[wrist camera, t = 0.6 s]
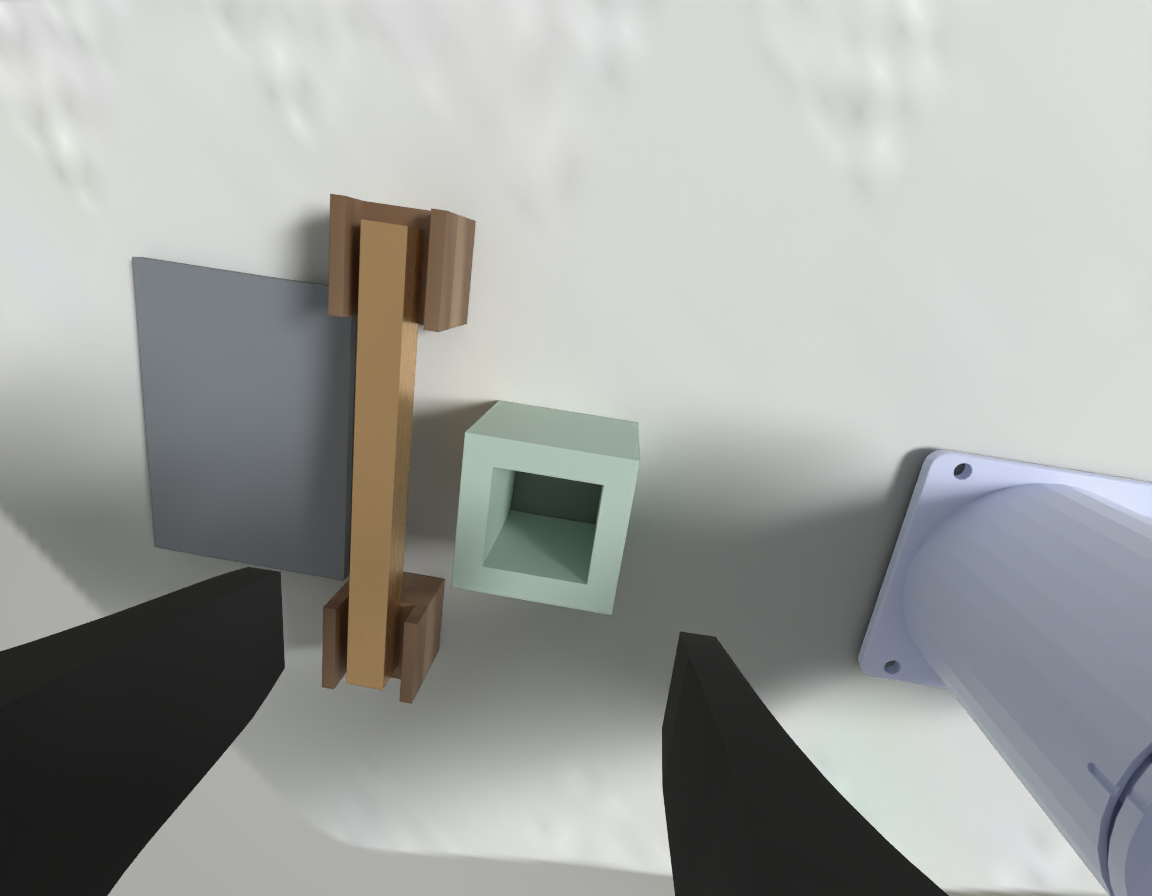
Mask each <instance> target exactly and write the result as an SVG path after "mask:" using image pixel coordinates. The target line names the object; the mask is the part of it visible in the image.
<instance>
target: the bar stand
mask: <svg viewBox="0 0 1152 896" xmlns="http://www.w3.org/2000/svg"><path fill="white" fill-rule="evenodd" d="M361 219H362V220H369V221H376V222H382V223H389V224H396V225H403V226H409V227H413V228H418V229H422V230H424V239H423V255H422V271H421V287H420V304H419V320H418V324H422V325H424V330H429V331H435V332H440V331H443V330H447V329H450V328H454V327H457V326H461V325H464V324H467V314H468V303H469V291H470V280H471V268H472V256H473V245H474V233H475V221H474V220H471V219H468V218H465V217H462V216H460V215H457V214H454V213H451V212H449V211H444V210H437V209H431V211H428V210H421V209H414V208H407V207H400V206H394V205H387V204H380V203H373V202H366V201H361V200H358V199H354V198H351V197H347V196H342V195H335V194H330V246H329V305H328V315H333V316H339V317H347V316H354V315H358V297H359V266H360V234H361ZM444 582H445V579H441V578H435V577H429V576H424V575H418V574H412V573H406V572H403V579H402V595H401V612H400V628H399V644H398V660H397V667H396V669H395V670H394V672H393V674H392V675H391V677H392V678H398V679H401V687H400V702H406V703H411V704H412V702H413V700H414V698H415V696H416V694H417V692H418V690H419V688H420V686H421V684H422V682H423V680H424V678H425V676H426V674H427V672H428V670H429V668H430V666H431V665H432V663H433V661H434V659H435V657H436V655H437V653H438V651H439V641H440V629H441V617H442V606H443V594H444ZM349 583H350V579H349V580H348V581H347V583H346V584H345V585H344V586H343V587H342V588H341V589H340V590H339V591H338V592H337V593H336V594H335V596H334V597H333V598H332V599H331V600H330V601H329V602H328V603H327V604H326V605H325V606H324V607H323V662H322V687H324V688H330V689H334V688H335V687H336V686H337V684H338V683H339V682H340V680H341V679H342V677H343V676H344V675H345V673H346V672H347V647H348V615H349Z"/></svg>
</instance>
